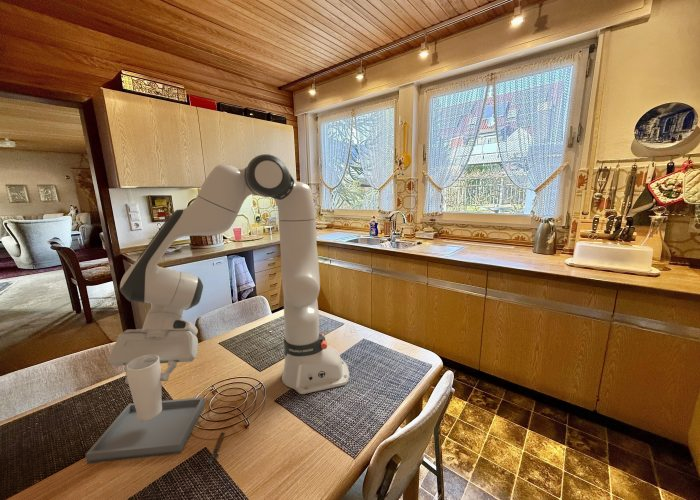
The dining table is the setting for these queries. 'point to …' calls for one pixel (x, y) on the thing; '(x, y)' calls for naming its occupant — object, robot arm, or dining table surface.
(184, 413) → the tray
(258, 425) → the dining table surface
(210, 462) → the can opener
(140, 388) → the drinking glass
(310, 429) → the dining table surface
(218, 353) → the dining table surface
